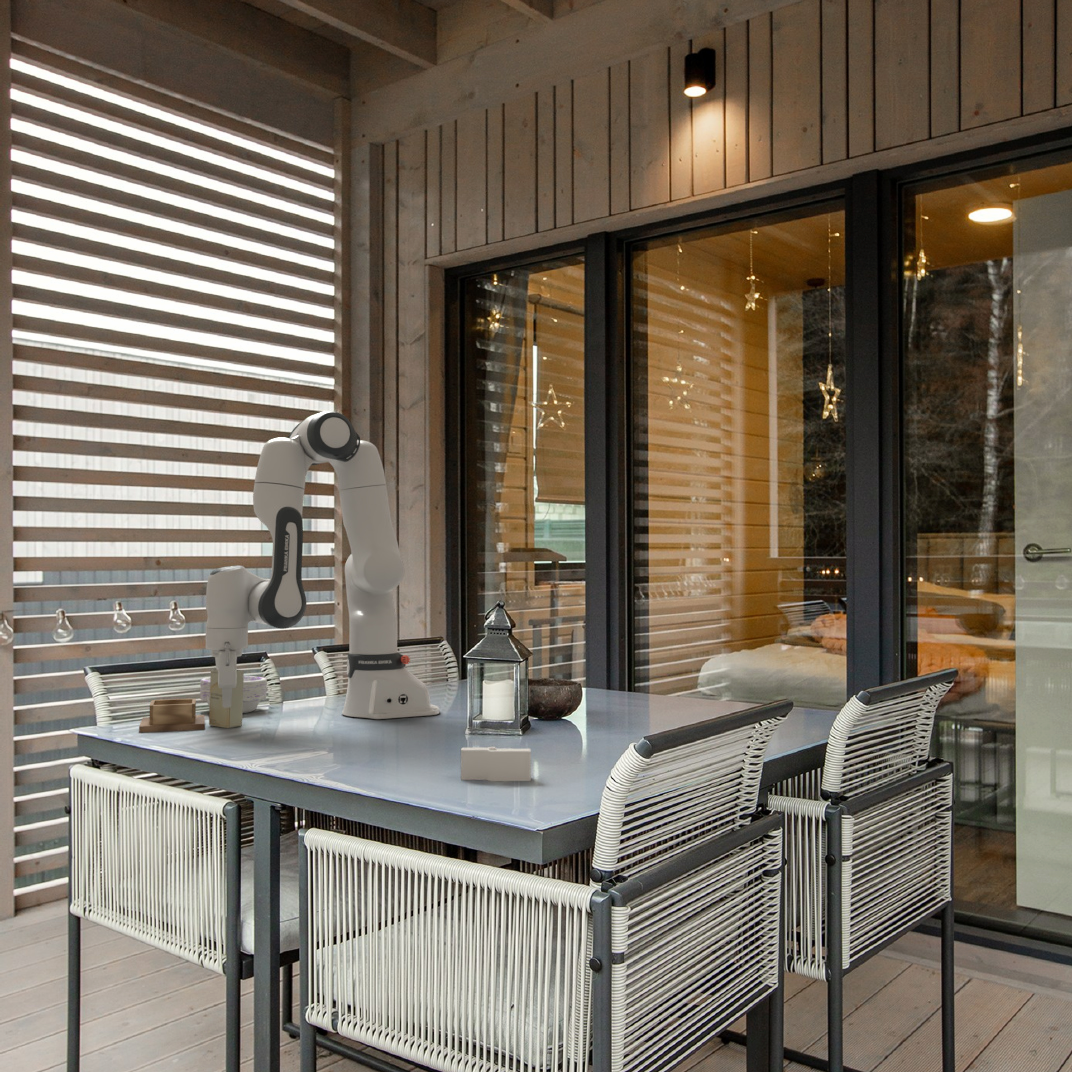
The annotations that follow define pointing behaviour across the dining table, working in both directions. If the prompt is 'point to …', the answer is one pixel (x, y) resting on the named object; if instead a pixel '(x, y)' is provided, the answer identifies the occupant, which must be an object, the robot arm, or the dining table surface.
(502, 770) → the napkin holder
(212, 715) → the skincare box
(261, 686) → the paper bowls
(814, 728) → the dining table surface
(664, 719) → the dining table surface
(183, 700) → the box
